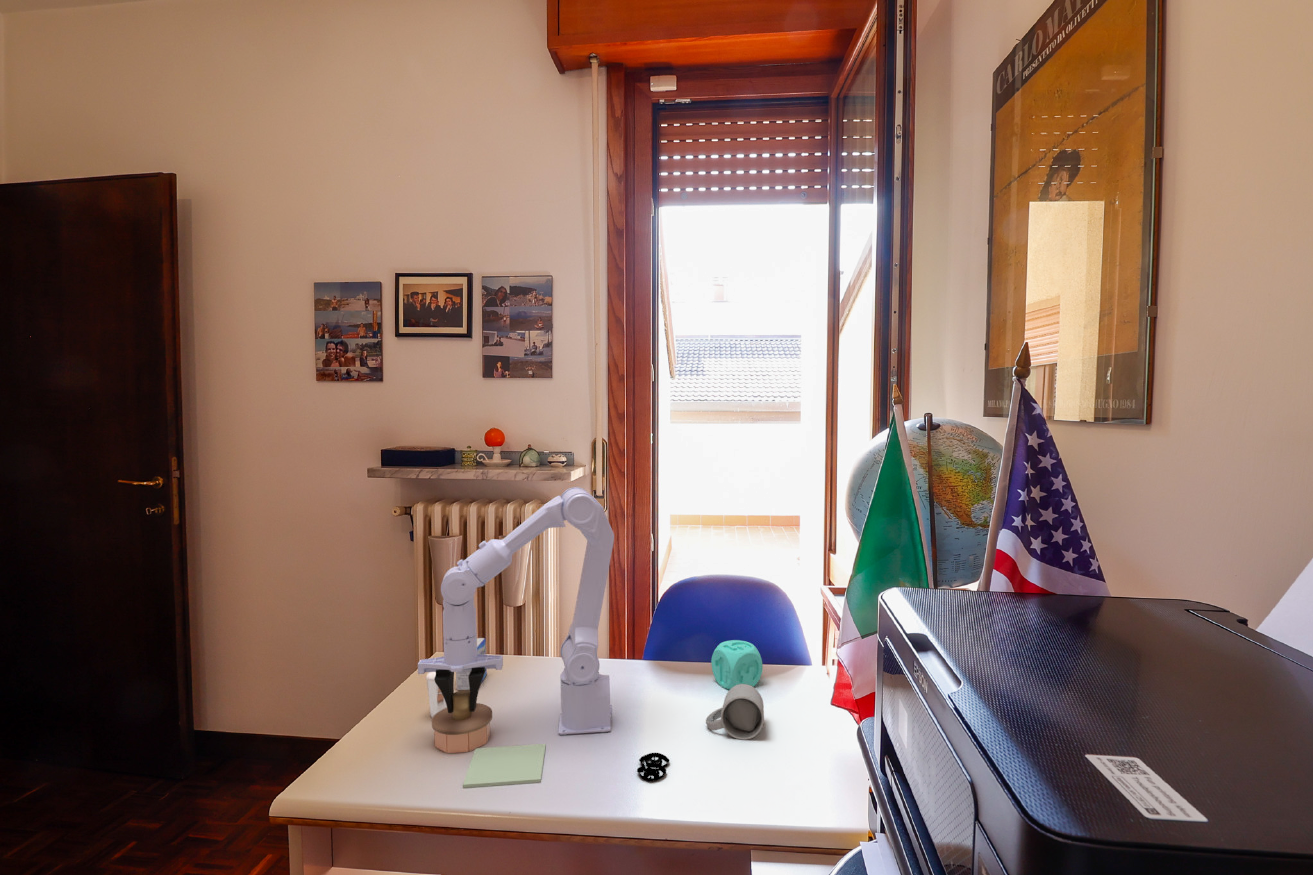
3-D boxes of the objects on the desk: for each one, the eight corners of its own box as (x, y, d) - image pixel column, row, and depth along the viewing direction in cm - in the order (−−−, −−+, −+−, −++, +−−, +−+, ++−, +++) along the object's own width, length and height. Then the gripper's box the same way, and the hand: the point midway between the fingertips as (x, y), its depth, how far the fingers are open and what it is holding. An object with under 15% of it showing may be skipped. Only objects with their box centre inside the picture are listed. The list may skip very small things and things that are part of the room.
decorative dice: (711, 680, 139) (710, 644, 139) (741, 672, 143) (740, 637, 143) (732, 694, 132) (731, 656, 132) (763, 686, 136) (763, 648, 136)
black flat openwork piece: (634, 783, 101) (633, 777, 101) (641, 757, 109) (641, 750, 109) (665, 785, 101) (665, 779, 101) (670, 758, 108) (670, 752, 108)
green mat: (545, 746, 112) (545, 743, 112) (540, 782, 102) (540, 779, 102) (475, 751, 111) (475, 748, 111) (462, 787, 100) (462, 784, 100)
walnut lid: (496, 705, 121) (495, 680, 121) (487, 732, 111) (486, 705, 111) (439, 708, 120) (438, 683, 120) (425, 736, 110) (424, 708, 110)
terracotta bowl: (492, 725, 120) (491, 707, 120) (484, 750, 111) (483, 730, 111) (443, 728, 120) (442, 710, 119) (431, 754, 111) (430, 734, 110)
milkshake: (448, 722, 122) (446, 670, 122) (422, 720, 123) (421, 668, 123) (460, 711, 127) (458, 661, 126) (435, 709, 128) (434, 659, 127)
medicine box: (476, 690, 136) (475, 650, 136) (455, 691, 136) (454, 650, 136) (487, 675, 144) (486, 637, 144) (467, 675, 144) (466, 637, 144)
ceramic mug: (763, 719, 121) (762, 679, 121) (764, 741, 113) (763, 698, 113) (707, 717, 123) (706, 677, 123) (704, 738, 115) (703, 696, 114)
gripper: (412, 645, 110) (414, 722, 111) (498, 640, 112) (500, 717, 112) (422, 631, 117) (425, 704, 118) (503, 627, 119) (505, 699, 119)
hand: (462, 709), depth 115 cm, fingers closed on walnut lid, 3 cm apart
